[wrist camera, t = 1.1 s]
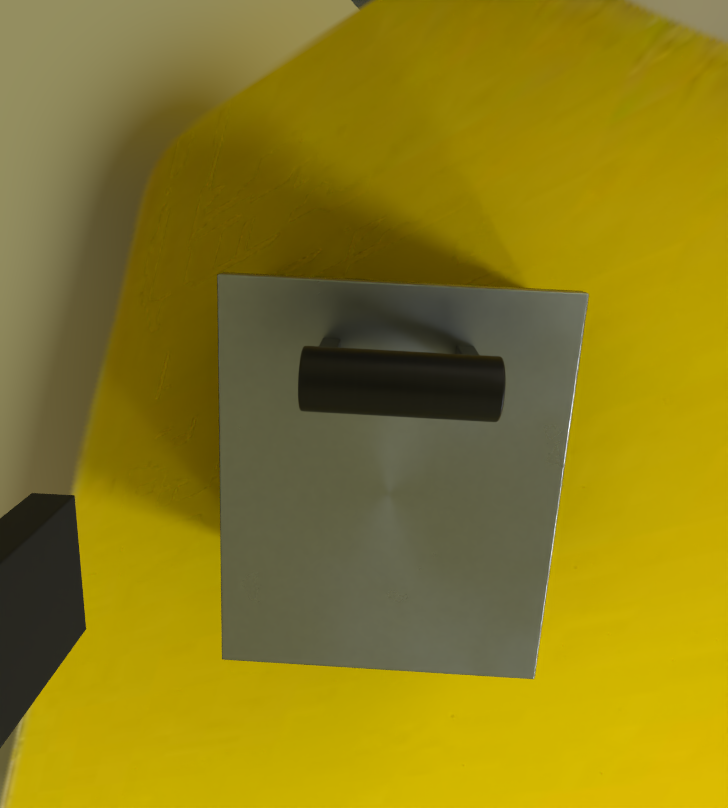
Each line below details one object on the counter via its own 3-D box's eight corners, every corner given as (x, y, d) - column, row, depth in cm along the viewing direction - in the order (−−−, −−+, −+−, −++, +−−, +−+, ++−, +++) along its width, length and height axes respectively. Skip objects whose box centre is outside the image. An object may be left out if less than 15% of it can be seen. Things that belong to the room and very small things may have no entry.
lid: (221, 271, 25) (164, 293, 19) (583, 290, 25) (652, 319, 18) (226, 648, 30) (180, 770, 23) (530, 667, 30) (571, 796, 23)
